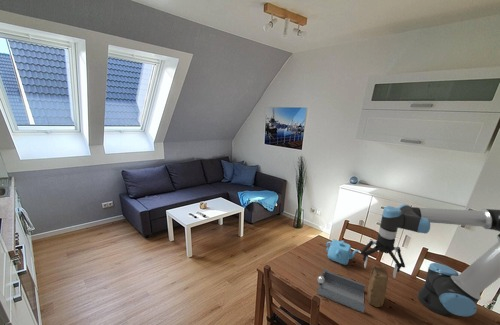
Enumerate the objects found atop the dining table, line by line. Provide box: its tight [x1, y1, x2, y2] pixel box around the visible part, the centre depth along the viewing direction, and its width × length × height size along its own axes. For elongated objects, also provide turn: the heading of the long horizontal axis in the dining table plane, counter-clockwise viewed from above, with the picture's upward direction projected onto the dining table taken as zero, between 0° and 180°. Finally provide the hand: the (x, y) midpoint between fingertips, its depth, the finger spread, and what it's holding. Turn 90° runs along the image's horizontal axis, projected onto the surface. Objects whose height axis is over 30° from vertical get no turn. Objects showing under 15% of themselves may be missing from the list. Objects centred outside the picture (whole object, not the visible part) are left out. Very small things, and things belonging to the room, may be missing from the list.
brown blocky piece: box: [366, 265, 389, 308], centre depth 116 cm, size 11×8×20 cm
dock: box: [317, 267, 366, 314], centre depth 121 cm, size 25×17×10 cm
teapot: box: [326, 239, 361, 266], centre depth 151 cm, size 18×16×14 cm
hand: (379, 271), depth 114 cm, fingers open, 13 cm apart
